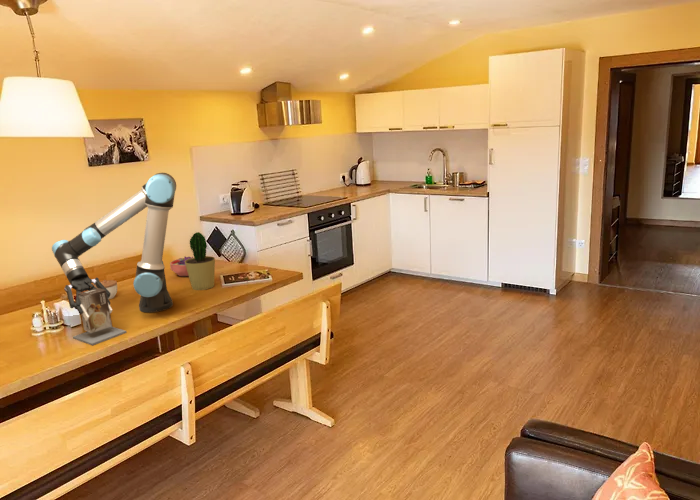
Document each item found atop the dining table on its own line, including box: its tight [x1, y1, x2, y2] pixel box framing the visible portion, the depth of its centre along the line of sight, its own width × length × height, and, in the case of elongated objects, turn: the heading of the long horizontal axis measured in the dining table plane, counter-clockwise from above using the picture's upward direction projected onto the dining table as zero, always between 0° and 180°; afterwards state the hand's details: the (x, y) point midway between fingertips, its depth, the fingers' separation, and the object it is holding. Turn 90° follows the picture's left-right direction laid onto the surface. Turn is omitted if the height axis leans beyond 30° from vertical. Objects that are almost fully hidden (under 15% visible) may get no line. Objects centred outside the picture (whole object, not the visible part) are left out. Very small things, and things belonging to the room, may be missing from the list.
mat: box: [72, 325, 127, 346], centre depth 227 cm, size 15×15×1 cm
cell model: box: [169, 256, 194, 277], centre depth 312 cm, size 17×20×11 cm
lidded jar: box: [93, 279, 118, 300], centre depth 278 cm, size 11×11×9 cm
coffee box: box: [78, 288, 113, 333], centre depth 225 cm, size 9×6×16 cm
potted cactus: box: [185, 231, 216, 291], centre depth 285 cm, size 15×15×30 cm
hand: (99, 315), depth 223 cm, fingers closed on coffee box, 9 cm apart
